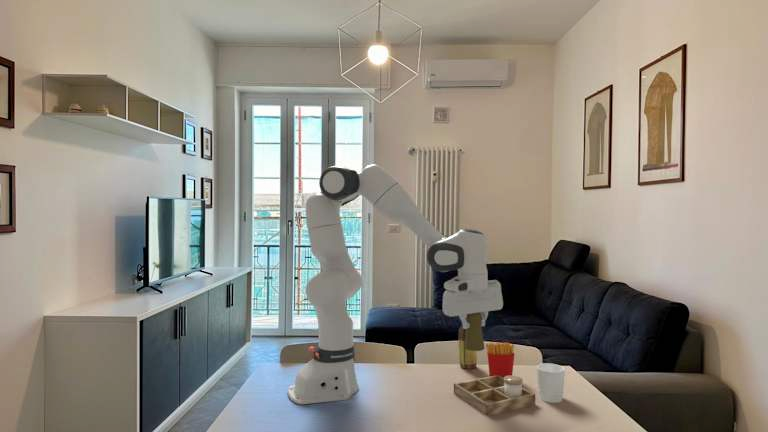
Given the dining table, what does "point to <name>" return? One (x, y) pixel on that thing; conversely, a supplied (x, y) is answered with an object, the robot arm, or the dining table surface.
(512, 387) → the cream ceramic jar
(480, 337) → the olive pepper mill
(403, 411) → the dining table surface
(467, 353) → the sauce bottle
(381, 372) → the dining table surface
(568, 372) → the dining table surface
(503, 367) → the french fries
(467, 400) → the oak caddy
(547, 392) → the white cup
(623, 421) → the dining table surface
